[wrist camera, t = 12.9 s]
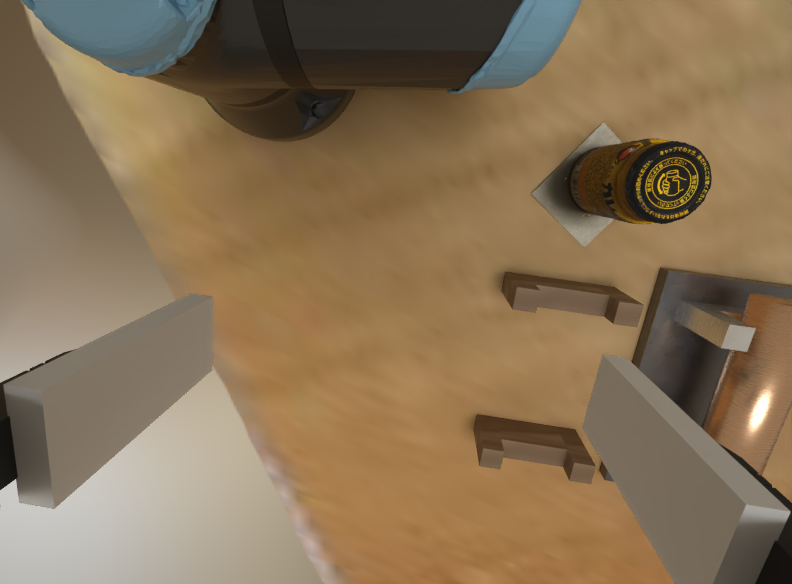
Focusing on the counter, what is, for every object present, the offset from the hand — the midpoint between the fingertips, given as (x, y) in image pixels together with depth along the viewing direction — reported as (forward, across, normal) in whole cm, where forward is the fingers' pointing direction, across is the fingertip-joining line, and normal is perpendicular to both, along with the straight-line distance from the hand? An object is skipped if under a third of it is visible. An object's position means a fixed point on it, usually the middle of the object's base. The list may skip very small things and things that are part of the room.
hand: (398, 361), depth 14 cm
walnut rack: (+29, +14, -11) cm, 34 cm away
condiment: (+29, +15, +7) cm, 33 cm away
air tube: (+25, +30, -11) cm, 40 cm away
